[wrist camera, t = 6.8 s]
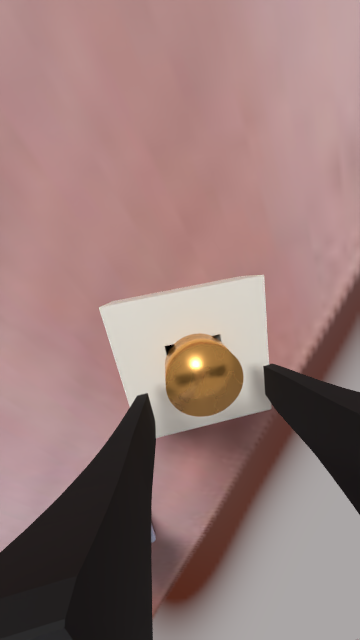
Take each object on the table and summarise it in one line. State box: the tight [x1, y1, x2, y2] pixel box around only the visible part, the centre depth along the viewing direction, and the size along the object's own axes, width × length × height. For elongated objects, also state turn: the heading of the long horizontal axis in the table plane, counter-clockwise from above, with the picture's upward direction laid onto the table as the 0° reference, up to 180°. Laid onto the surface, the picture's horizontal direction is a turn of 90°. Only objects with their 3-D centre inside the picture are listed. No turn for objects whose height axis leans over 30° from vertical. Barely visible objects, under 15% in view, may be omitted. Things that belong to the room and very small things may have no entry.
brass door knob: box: [165, 333, 244, 417], centre depth 14 cm, size 5×5×6 cm
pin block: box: [99, 275, 271, 438], centre depth 15 cm, size 12×12×4 cm
